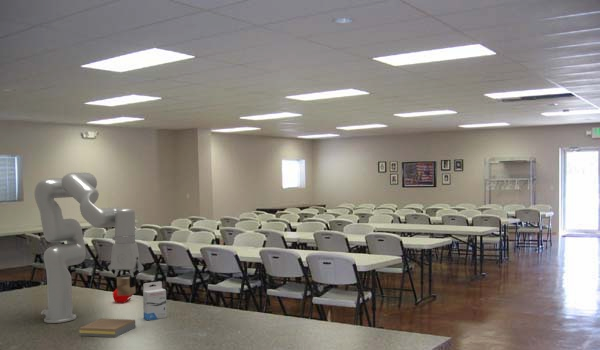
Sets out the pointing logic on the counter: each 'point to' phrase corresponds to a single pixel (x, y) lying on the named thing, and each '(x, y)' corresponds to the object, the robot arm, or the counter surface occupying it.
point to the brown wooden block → (124, 285)
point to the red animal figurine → (120, 297)
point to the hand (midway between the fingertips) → (126, 286)
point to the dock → (107, 327)
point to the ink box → (154, 301)
